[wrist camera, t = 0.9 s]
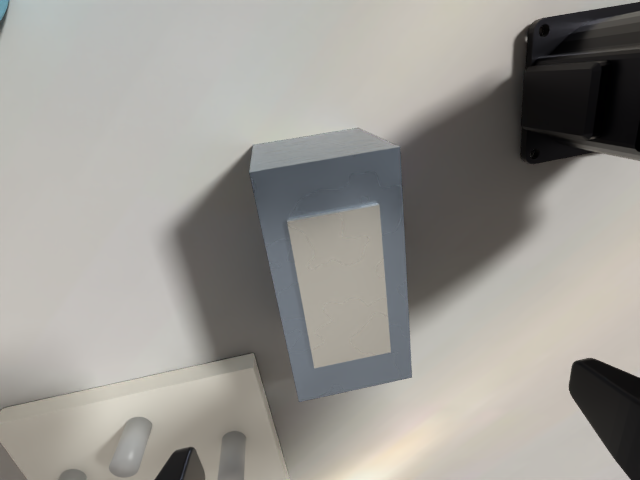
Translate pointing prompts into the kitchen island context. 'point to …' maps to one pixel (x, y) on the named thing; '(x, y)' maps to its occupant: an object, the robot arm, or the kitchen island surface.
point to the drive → (336, 257)
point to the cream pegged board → (150, 427)
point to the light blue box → (3, 7)
